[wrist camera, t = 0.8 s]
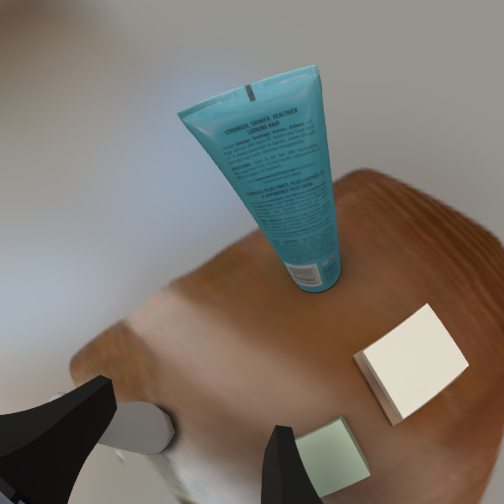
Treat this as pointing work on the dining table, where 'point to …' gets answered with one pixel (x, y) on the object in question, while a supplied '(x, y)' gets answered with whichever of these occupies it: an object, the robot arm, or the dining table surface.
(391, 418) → the walnut slab
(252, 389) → the dining table surface
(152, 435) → the salt shaker
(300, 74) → the tube
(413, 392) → the cream slab
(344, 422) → the sage cube
